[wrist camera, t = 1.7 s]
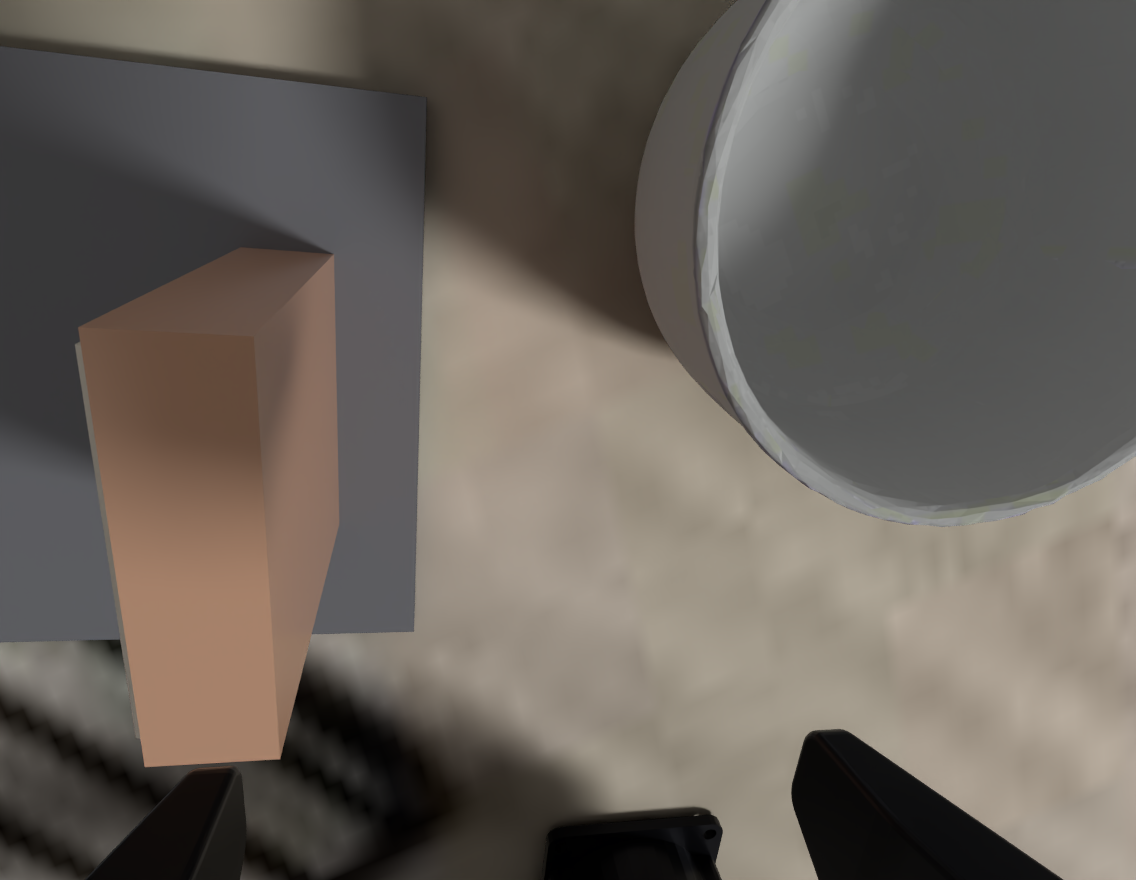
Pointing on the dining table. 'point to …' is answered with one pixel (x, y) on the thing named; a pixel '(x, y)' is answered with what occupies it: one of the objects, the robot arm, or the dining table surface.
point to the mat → (174, 248)
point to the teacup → (906, 245)
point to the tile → (217, 494)
